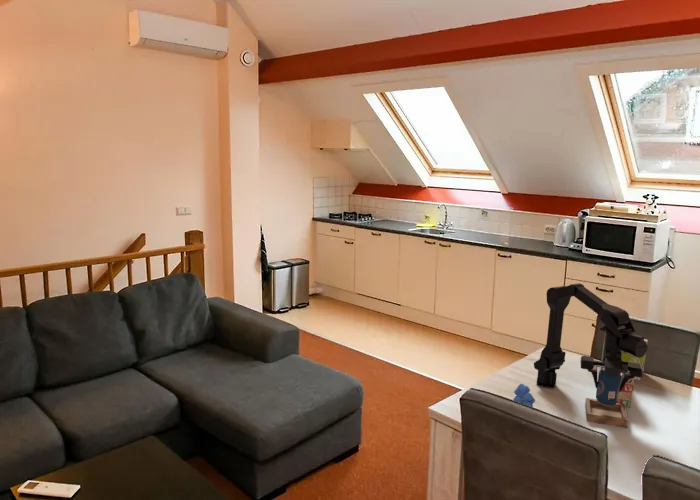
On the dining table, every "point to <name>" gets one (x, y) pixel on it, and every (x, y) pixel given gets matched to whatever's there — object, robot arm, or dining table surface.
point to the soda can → (608, 388)
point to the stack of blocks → (626, 393)
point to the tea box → (632, 359)
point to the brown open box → (606, 413)
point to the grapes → (524, 395)
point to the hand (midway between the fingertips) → (607, 389)
